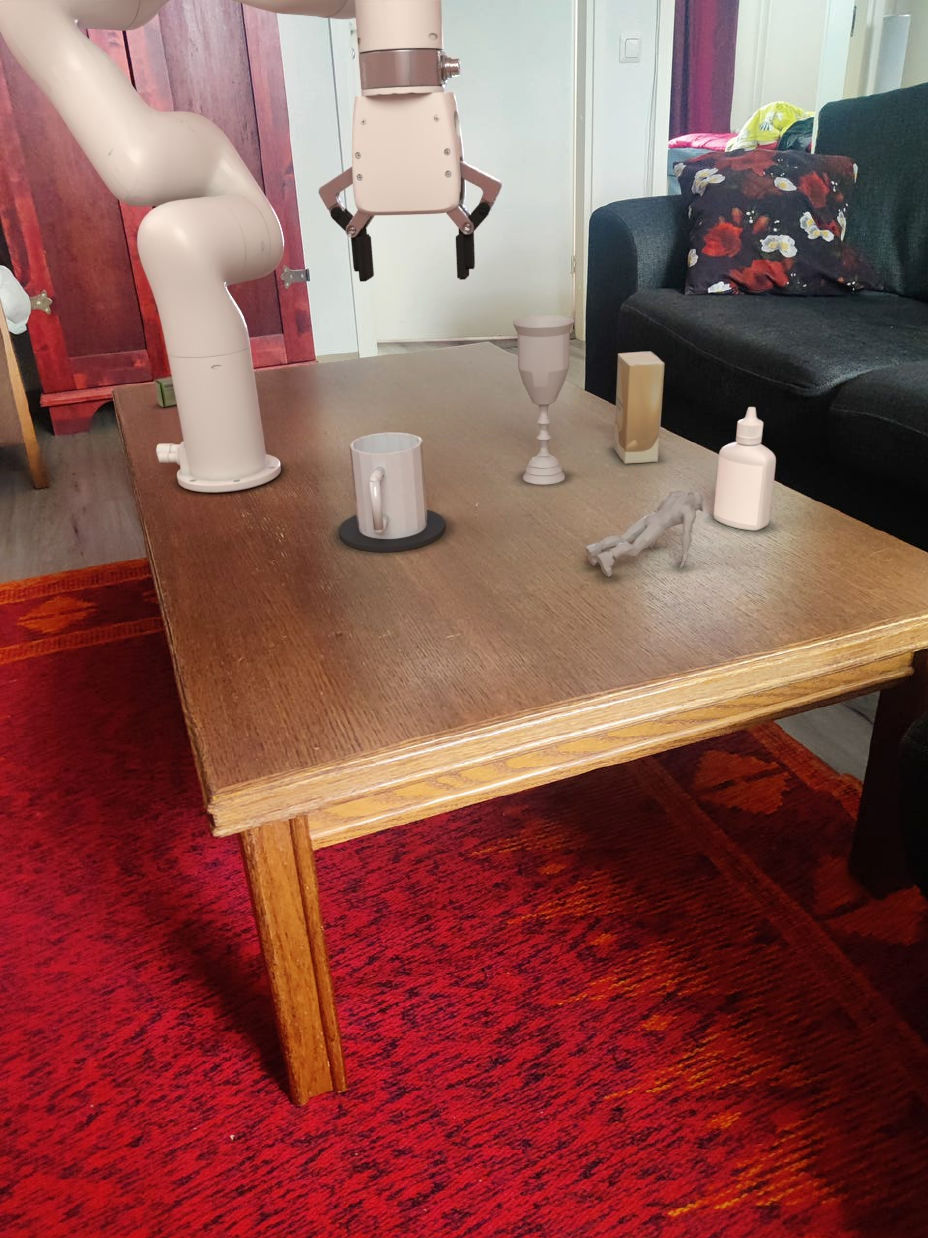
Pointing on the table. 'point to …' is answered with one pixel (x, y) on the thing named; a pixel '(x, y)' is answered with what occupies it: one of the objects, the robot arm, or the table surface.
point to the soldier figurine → (650, 530)
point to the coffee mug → (389, 485)
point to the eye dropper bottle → (745, 478)
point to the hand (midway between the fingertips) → (414, 278)
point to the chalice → (543, 381)
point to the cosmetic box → (638, 407)
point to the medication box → (165, 392)
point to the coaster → (359, 541)
